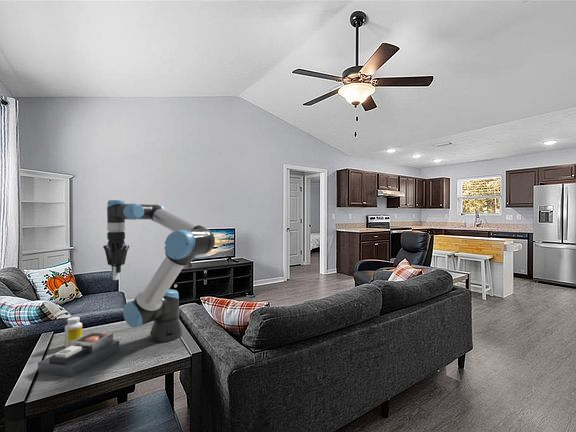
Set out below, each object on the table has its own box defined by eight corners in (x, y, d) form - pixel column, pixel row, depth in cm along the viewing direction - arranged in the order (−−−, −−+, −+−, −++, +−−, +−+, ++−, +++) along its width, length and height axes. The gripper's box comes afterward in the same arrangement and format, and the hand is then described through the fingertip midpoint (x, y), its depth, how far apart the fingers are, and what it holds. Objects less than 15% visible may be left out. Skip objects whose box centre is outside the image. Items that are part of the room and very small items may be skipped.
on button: (81, 354, 119) (81, 346, 119) (65, 362, 112) (65, 354, 112) (71, 353, 120) (71, 345, 120) (55, 361, 113) (55, 353, 113)
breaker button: (101, 343, 129) (101, 336, 129) (92, 348, 124) (92, 341, 124) (92, 342, 129) (92, 335, 129) (82, 347, 125) (82, 340, 125)
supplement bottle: (85, 343, 137) (85, 316, 137) (71, 350, 131) (71, 321, 131) (75, 342, 140) (75, 315, 140) (61, 347, 133) (61, 319, 133)
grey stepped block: (119, 349, 131) (119, 332, 131) (73, 377, 109) (73, 357, 109) (89, 346, 134) (89, 330, 134) (38, 372, 112) (38, 353, 112)
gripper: (133, 231, 145) (133, 278, 145) (110, 231, 148) (110, 277, 148) (122, 231, 138) (122, 281, 138) (98, 231, 140) (98, 280, 140)
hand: (116, 279), depth 143 cm, fingers closed
